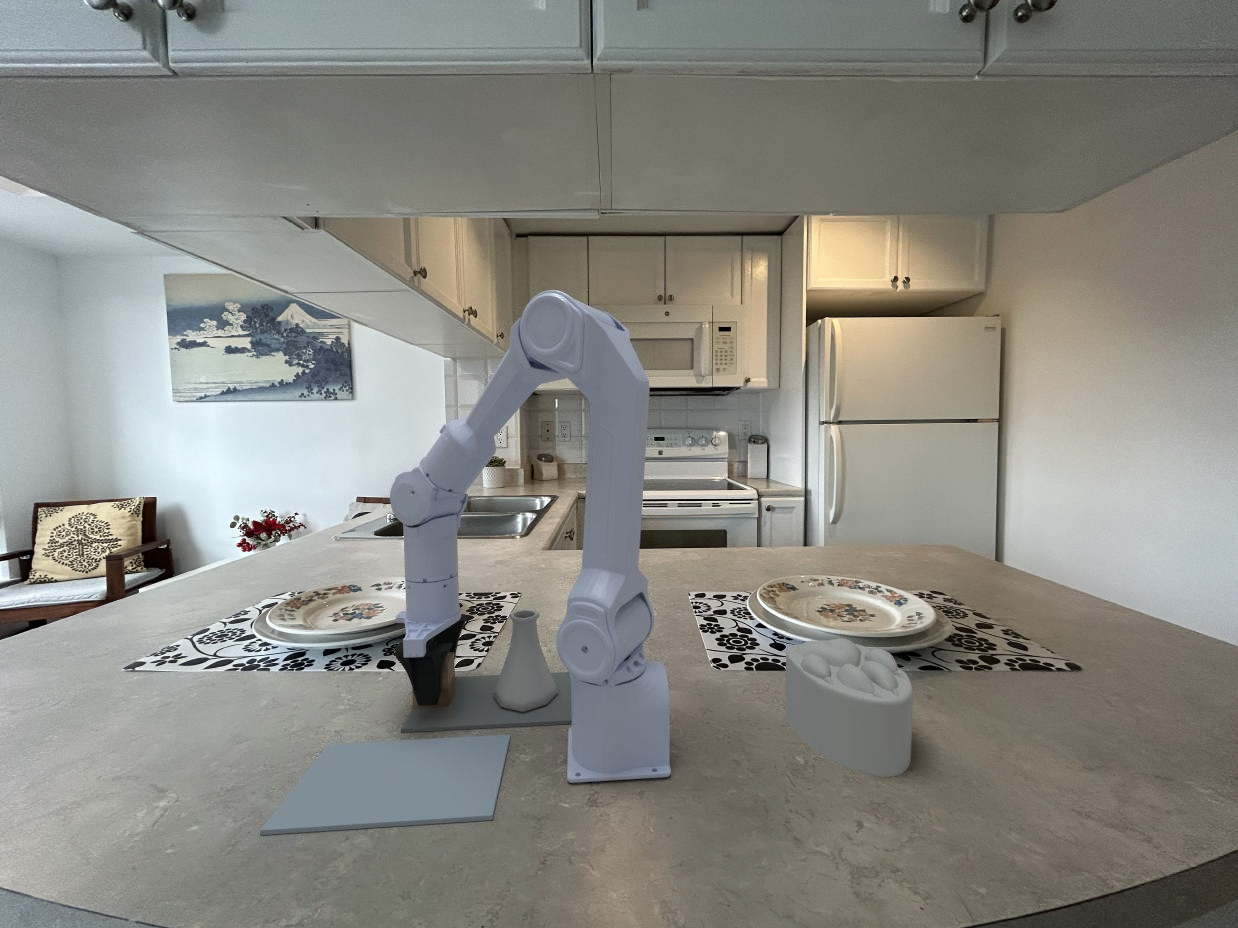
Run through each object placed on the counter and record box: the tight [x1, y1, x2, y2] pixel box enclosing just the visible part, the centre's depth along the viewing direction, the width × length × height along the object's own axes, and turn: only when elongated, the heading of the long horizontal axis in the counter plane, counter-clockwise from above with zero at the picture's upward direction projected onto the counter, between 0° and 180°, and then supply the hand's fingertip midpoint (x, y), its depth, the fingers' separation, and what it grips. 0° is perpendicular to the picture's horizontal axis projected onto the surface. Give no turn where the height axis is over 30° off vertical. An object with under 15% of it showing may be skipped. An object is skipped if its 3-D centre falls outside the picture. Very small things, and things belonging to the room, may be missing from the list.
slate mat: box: [259, 734, 511, 836], centre depth 46 cm, size 18×11×1 cm, turn 95°
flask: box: [493, 608, 558, 712], centre depth 60 cm, size 7×7×10 cm
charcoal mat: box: [400, 652, 572, 734], centre depth 59 cm, size 18×11×5 cm, turn 95°
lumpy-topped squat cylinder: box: [784, 637, 914, 778], centre depth 53 cm, size 10×13×9 cm
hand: (435, 690), depth 59 cm, fingers open, 5 cm apart
